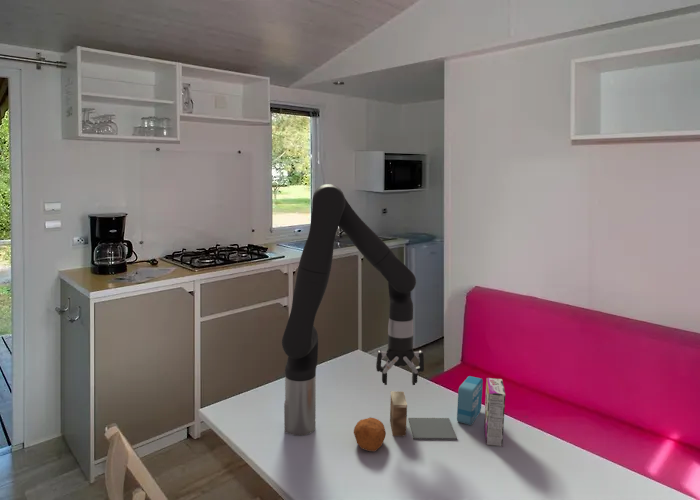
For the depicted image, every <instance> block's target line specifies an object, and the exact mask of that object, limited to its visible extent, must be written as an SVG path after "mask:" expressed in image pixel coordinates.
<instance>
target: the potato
mask: <svg viewBox="0 0 700 500" xmlns="http://www.w3.org/2000/svg"><path fill="white" fill-rule="evenodd" d="M386 434H387V432H386V428H385V426H384V424H383V422H382V421H381V420H379V419H377V418H375V417H367V418H363V419H360V420H359V421H358V422H357V423H356V424H355V426H354V428H353V436H354V438H355V442H356V443H357V445H358V446H359V447H360V449H362V450H364V451H367V452H376V451H377V450H378V449H379V448H381V447H382V445H383V443H384V441H385V438H386Z"/></svg>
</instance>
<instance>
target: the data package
mask: <svg viewBox="0 0 700 500" xmlns="http://www.w3.org/2000/svg"><path fill="white" fill-rule="evenodd" d="M483 383H484V381H483V378H482V377H481V378H480V377H475V376H471V375H469V376H467V377H466V379H464V381H463V382H462V383H461V384H460V385H459V387H458V392H457V412H456V421H457V422H458V423H462V424H465V425H469V426H471V425H473V424H474V422H475V421H476V419H477V417H479V414H480V413H481V410H482V399H483V387H484V386H483V385H484V384H483Z"/></svg>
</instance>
